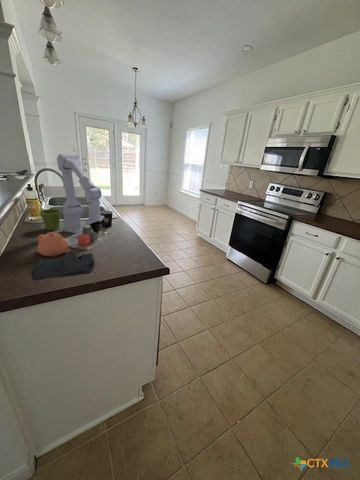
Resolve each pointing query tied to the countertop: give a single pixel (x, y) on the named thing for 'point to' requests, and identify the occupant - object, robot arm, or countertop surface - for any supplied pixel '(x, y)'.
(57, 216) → the plant pot
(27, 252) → the countertop surface
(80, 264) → the dark slate chunk
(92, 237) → the block
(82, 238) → the red cube
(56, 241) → the sugar bowl
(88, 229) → the breaker
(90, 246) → the breaker panel
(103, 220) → the coffee mug
